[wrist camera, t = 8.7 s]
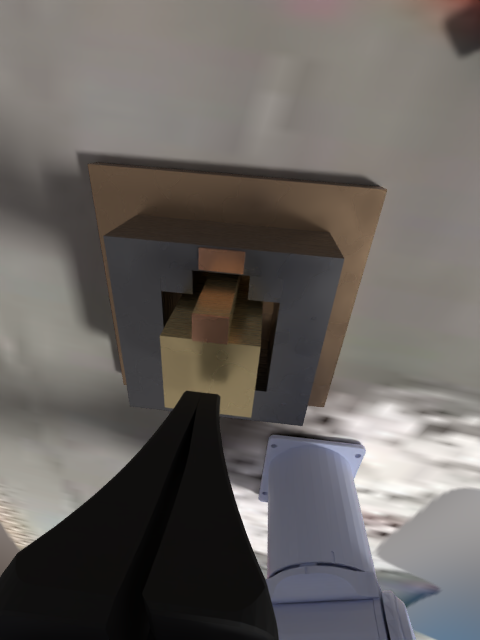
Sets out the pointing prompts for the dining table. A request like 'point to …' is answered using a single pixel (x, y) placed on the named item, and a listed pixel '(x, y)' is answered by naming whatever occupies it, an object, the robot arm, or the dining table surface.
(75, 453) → the dining table surface
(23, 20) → the dining table surface
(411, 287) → the dining table surface
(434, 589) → the dining table surface
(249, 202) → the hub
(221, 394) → the keyed shaft
